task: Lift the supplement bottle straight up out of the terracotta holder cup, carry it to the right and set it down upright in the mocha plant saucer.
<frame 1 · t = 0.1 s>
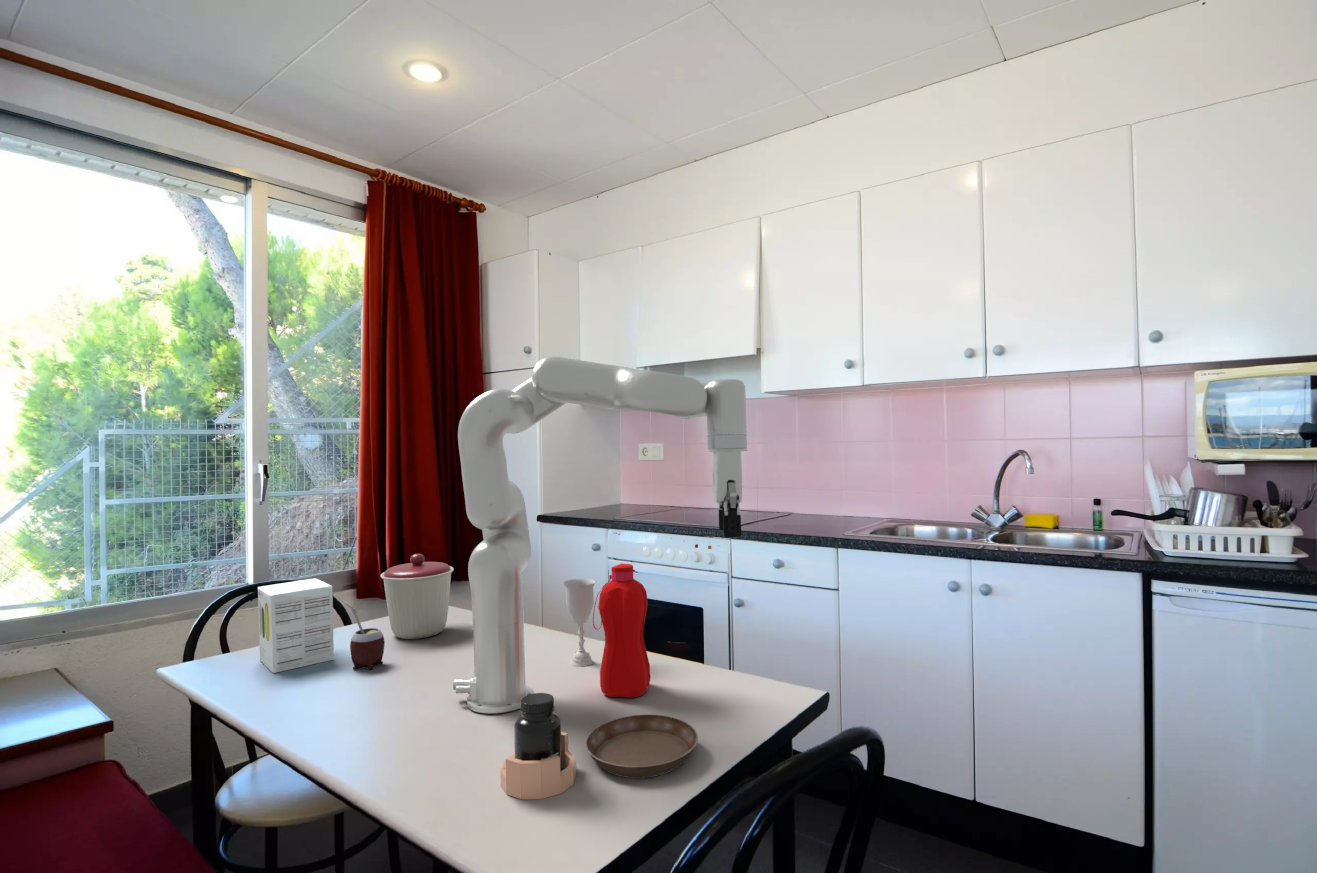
hand: (729, 533, 128), 31 cm above the table, fingers open, 9 cm apart
supplement bottle: (539, 781, 98), resting in holder cup
chalice: (581, 663, 149), on the table
water bottle: (621, 691, 132), on the table
plant saucer: (642, 758, 105), on the table
mate gourd: (365, 667, 151), on the table
holder cup: (538, 779, 98), on the table
supplement box: (296, 661, 157), on the table
canister: (419, 634, 176), on the table
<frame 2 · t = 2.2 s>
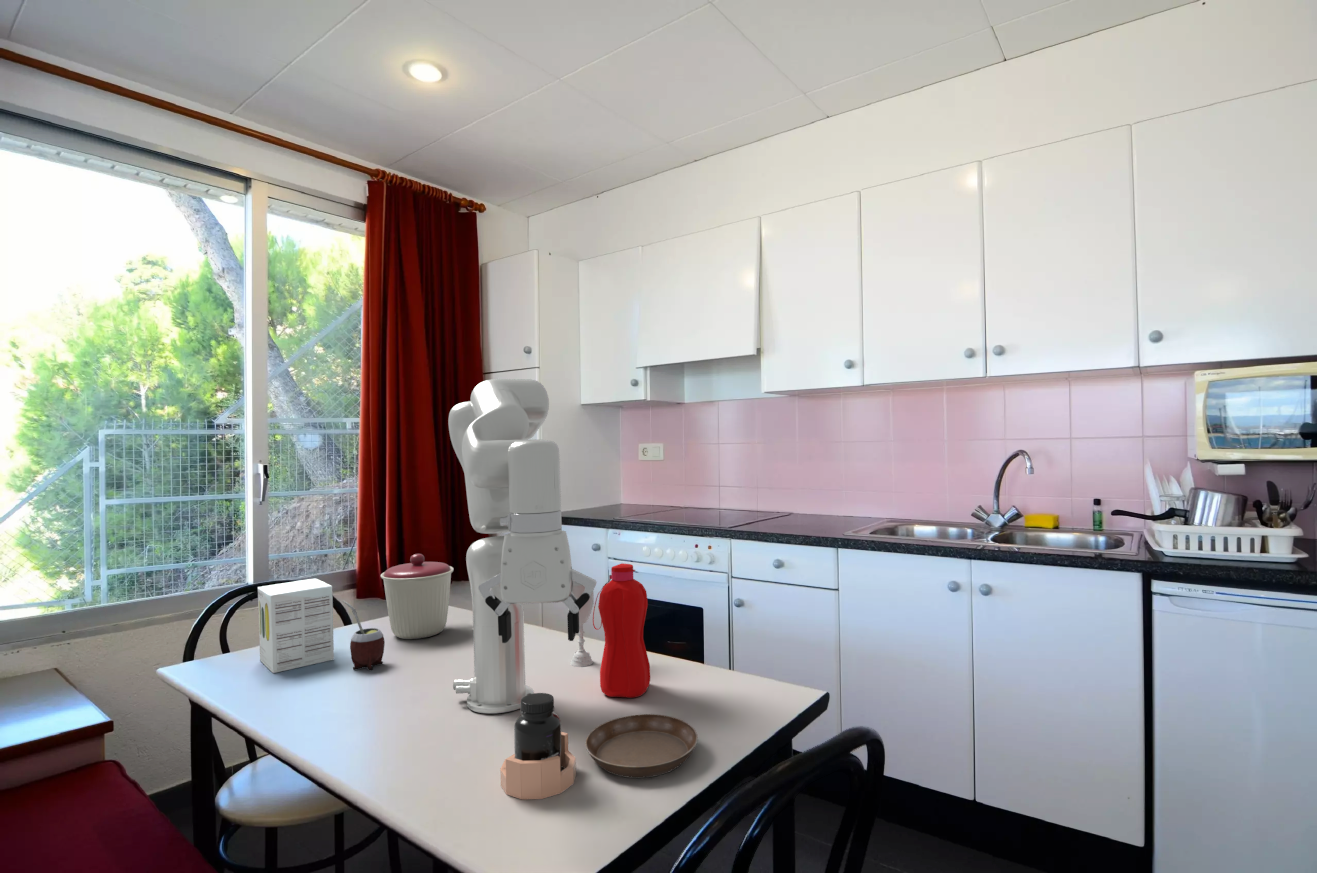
hand: (539, 639, 99), 21 cm above the table, fingers open, 9 cm apart
nothing on the table moved.
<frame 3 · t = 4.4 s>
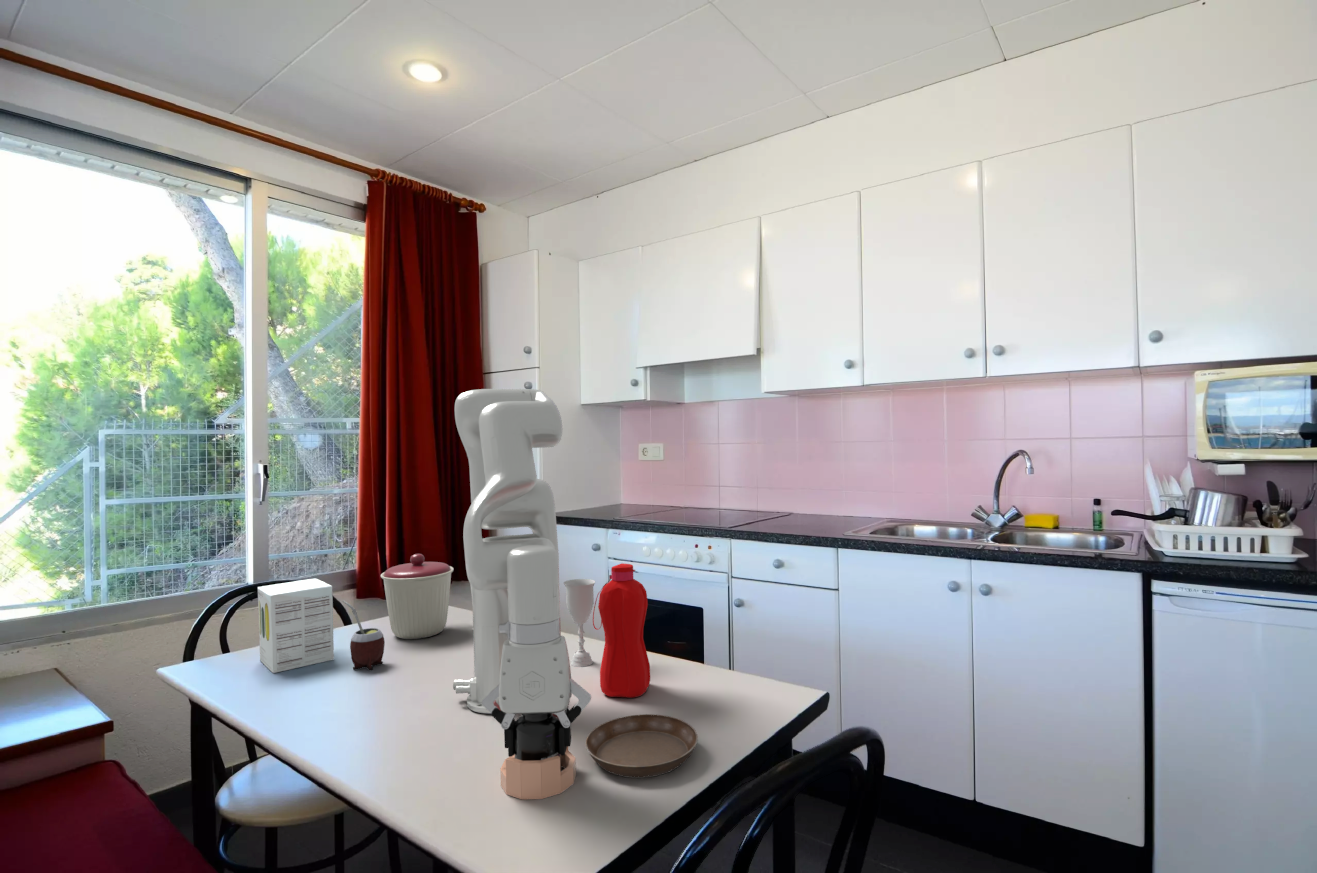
hand: (538, 750, 98), 4 cm above the table, fingers closed on supplement bottle, 6 cm apart
supplement bottle: (538, 781, 98), resting in holder cup, touching gripper
everything else where it was.
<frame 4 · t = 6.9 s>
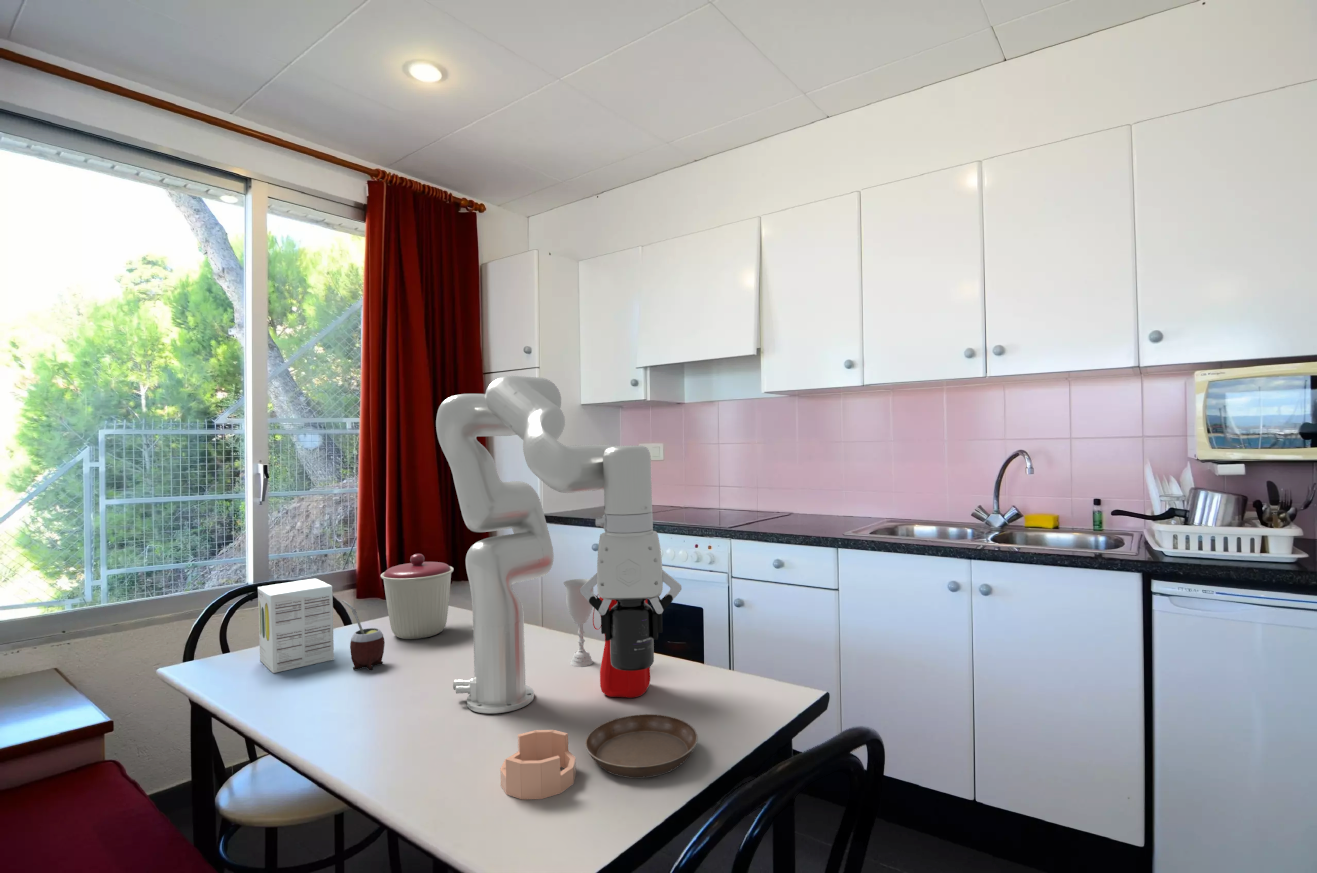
hand: (632, 636, 105), 19 cm above the table, fingers closed on supplement bottle, 6 cm apart
supplement bottle: (632, 666, 105), point 14 cm above the table, touching gripper
everything else where it was.
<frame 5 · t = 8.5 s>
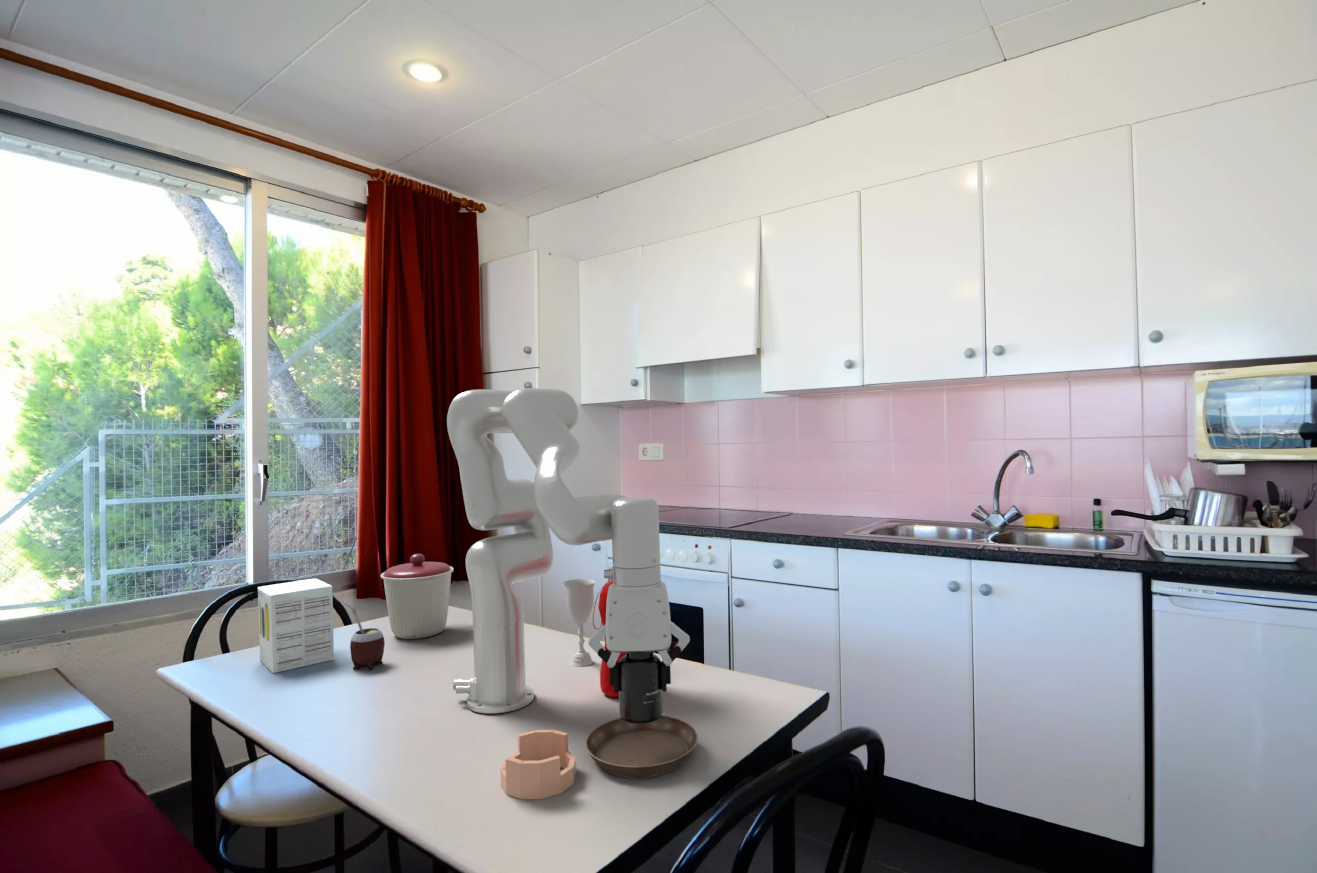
hand: (640, 688, 105), 10 cm above the table, fingers closed on supplement bottle, 6 cm apart
supplement bottle: (641, 717, 105), point 6 cm above the table, touching gripper
everything else where it was.
when the fingers open (8 cm above the table, at t = 9.6 s): supplement bottle stays where it is, resting on plant saucer.
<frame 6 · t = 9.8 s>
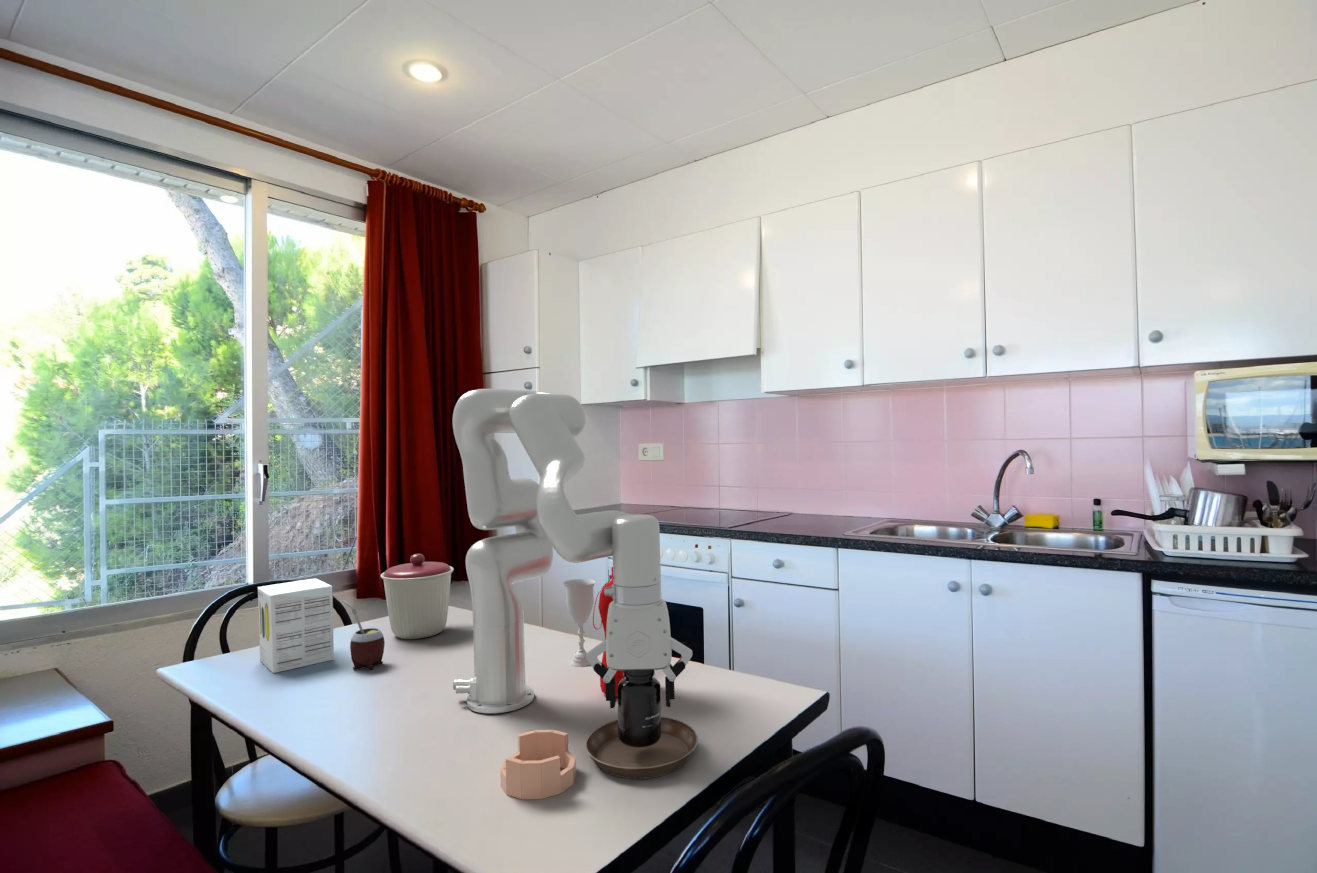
hand: (640, 703, 105), 8 cm above the table, fingers open, 8 cm apart
supplement bottle: (640, 740, 105), point 2 cm above the table, touching plant saucer
plant saucer: (642, 759, 105), on the table, touching supplement bottle
everything else where it was.
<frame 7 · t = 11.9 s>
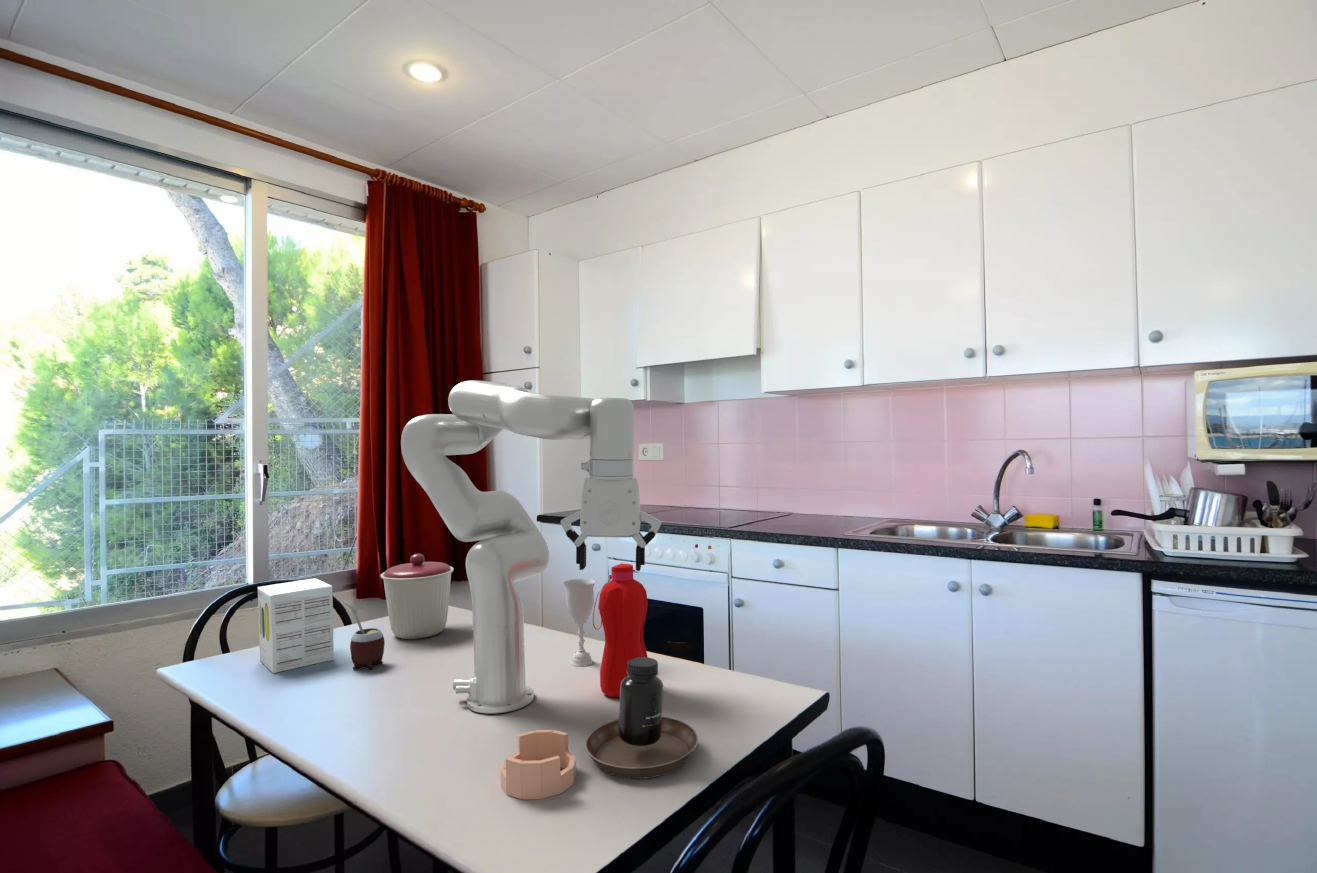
hand: (610, 568, 115), 28 cm above the table, fingers open, 9 cm apart
nothing on the table moved.
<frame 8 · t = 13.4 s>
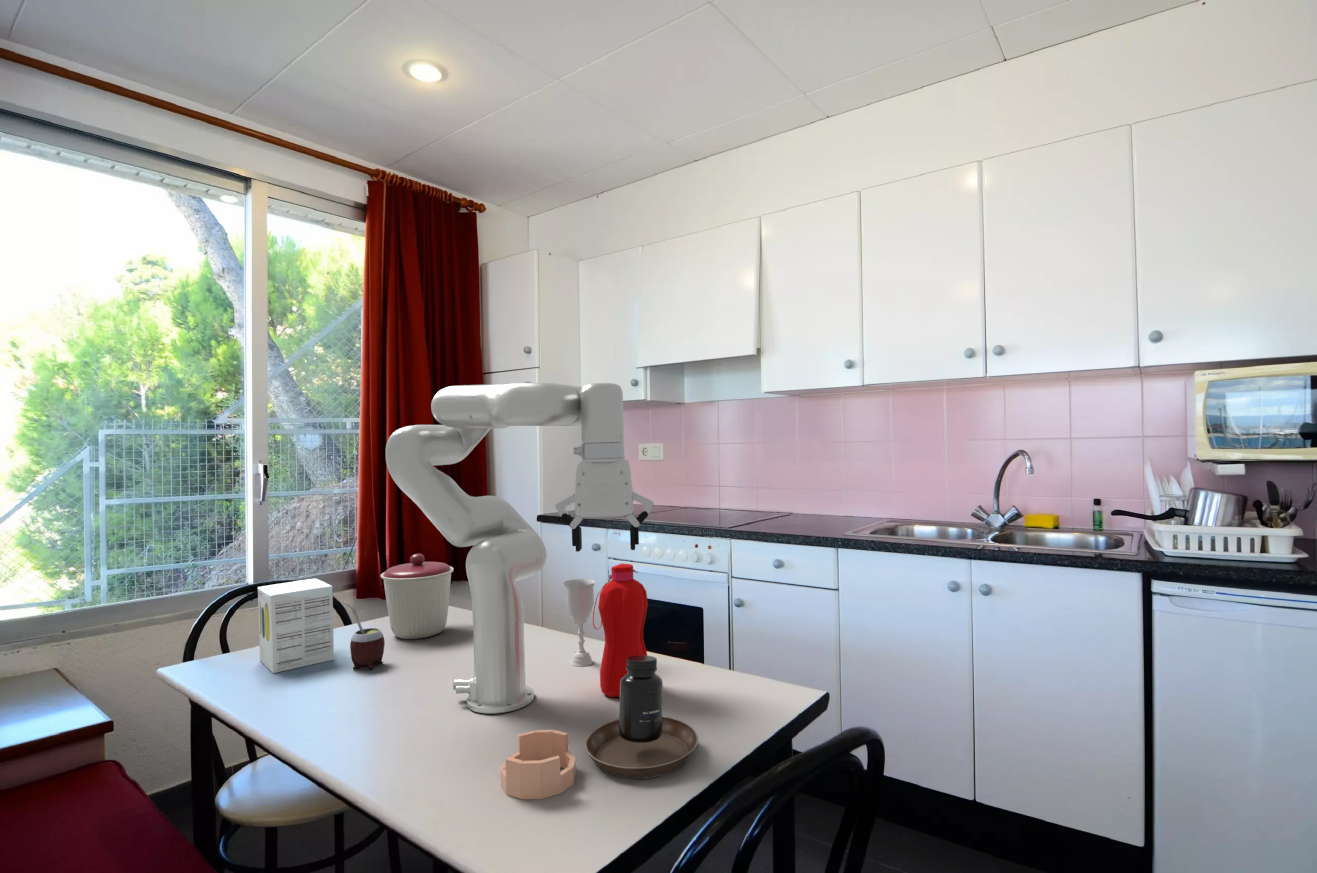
hand: (605, 549, 118), 30 cm above the table, fingers open, 9 cm apart
at the end: supplement bottle 0.1 cm from the plant saucer (horizontally); supplement bottle tilted 7°; supplement bottle point 2.7 cm above the table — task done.
